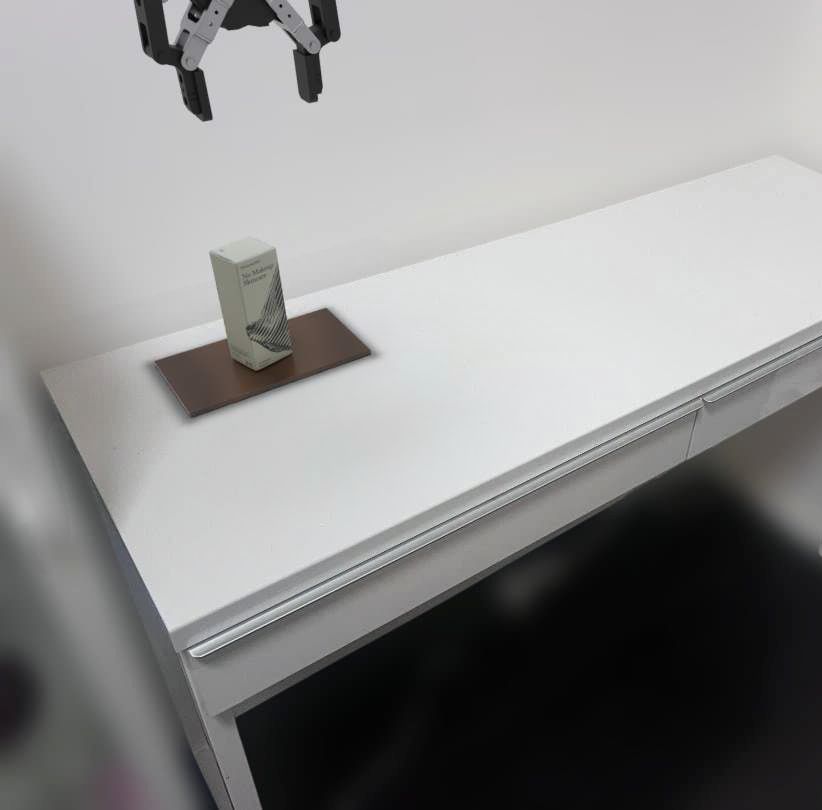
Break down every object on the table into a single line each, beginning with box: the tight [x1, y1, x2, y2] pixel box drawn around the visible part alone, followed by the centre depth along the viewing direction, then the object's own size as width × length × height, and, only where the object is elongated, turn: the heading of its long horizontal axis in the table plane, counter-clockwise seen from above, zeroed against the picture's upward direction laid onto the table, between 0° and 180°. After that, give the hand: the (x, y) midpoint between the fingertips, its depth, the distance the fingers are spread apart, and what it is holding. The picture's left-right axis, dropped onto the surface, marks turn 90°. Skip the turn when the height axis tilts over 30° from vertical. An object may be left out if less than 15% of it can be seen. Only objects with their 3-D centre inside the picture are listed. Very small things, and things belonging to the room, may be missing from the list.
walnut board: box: [153, 307, 372, 418], centre depth 88 cm, size 20×11×1 cm, turn 128°
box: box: [208, 235, 292, 371], centre depth 84 cm, size 5×4×13 cm
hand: (258, 109), depth 63 cm, fingers open, 8 cm apart
